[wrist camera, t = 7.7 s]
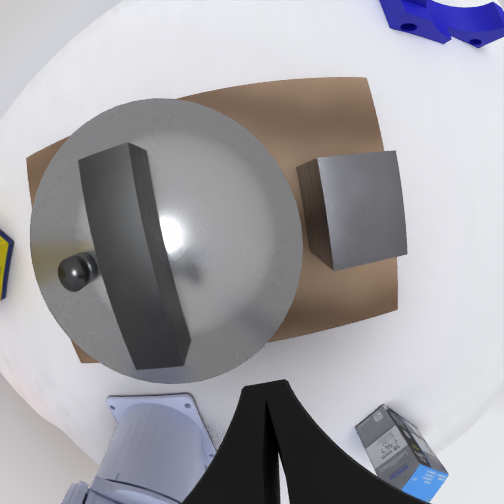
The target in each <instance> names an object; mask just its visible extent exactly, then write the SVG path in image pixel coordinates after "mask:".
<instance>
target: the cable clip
mask: <svg viewBox="0 0 504 504" xmlns="http://www.w3.org/2000/svg"><path fill="white" fill-rule="evenodd" d="M379 1H380V3H381V6H382V8H383V11H384V13H385V16H386V19H387V21H388V24H389V27H390V28H391V29H395V30H399V31H403V32H407V33H411V34H414V35H418V36H421V37H424V38H427V39H430V40H433V41H436V42H439V43H442V44H444V43H446V42H448V41H450V40H451V36H452V37H455V38H457V39H459V40H462V41H464V42H466V43H468V44H471V45H473V46H475V47H477V48H480V47H482V46H484V45H486V44H488V43H491V42H493V41H495V40H497V39H500V38H502V37H504V11H503V9H502V8H501V7H500V6H498V5H497V4H496V3H494V2H491V3H489V4H486V5H483V6H478V7H468V8H462V7H452V6H447V5H443V4H440V3H437V2H434V1H432V0H379Z"/></svg>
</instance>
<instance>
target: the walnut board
mask: <svg viewBox="0 0 504 504" xmlns="http://www.w3.org/2000/svg"><path fill="white" fill-rule="evenodd" d="M177 100H183V101H189V102H194V103H197V104H200V105H203V106H206V107H209V108H212V109H214V110H216V111H218V112H220V113H222V114H224V115H226V116H228V117H230V118H231V119H233V120H234V121H236V122H237V123H239V124H240V125H241V126H243V127H244V128H245V129H247V130H248V131H249V132H250V133H252V134H253V135H254V136H255V137H256V138H257V139H258V140H259V141H260V142H261V143H262V144H263V145H264V146H265V147H266V149H267V150H268V151H269V153H270V154H271V155H272V157H273V158H274V159H275V161H276V162H277V163H278V165H279V167H280V168H281V170H282V172H283V174H284V176H285V177H286V179H287V181H288V183H289V185H290V188H291V191H292V193H293V196H294V198H295V201H296V204H297V208H298V213H299V217H300V221H301V228H302V240H303V254H302V268H301V273H300V278H299V283H298V287H297V290H296V293H295V296H294V299H293V302H292V304H291V306H290V308H289V310H288V312H287V314H286V316H285V318H284V320H283V322H282V323H281V325H280V326H279V328H278V329H277V331H276V332H275V333H274V335H273V336H272V337H271V338H270V339H269V340H268V342H273V341H278V340H283V339H288V338H293V337H297V336H302V335H306V334H310V333H315V332H319V331H323V330H327V329H331V328H335V327H339V326H343V325H347V324H350V323H354V322H358V321H361V320H365V319H368V318H372V317H375V316H378V315H382V314H385V313H388V312H392V311H395V310H398V280H397V257H394V258H389V259H385V260H381V261H377V262H373V263H368V264H364V265H360V266H355V267H351V268H347V269H342V270H338V271H333V270H332V269H331V268H329V267H328V266H327V265H326V264H325V263H323V262H322V261H321V260H320V259H319V258H318V257H316V256H315V255H314V254H313V253H312V252H310V250H309V243H308V236H307V229H306V223H305V217H304V210H303V204H302V198H301V193H300V187H299V181H298V176H297V170H296V167H297V166H299V165H302V164H304V163H306V162H309V161H311V160H313V159H316V158H320V157H329V156H337V155H347V154H357V153H369V152H382V151H384V147H383V142H382V138H381V133H380V128H379V124H378V119H377V115H376V111H375V107H374V103H373V99H372V96H371V92H370V89H369V85H368V82H367V78H362V77H328V78H305V79H291V80H280V81H271V82H262V83H255V84H248V85H241V86H235V87H229V88H223V89H218V90H213V91H208V92H203V93H199V94H194V95H190V96H186V97H182V98H178V99H177ZM69 137H70V136H69ZM69 137H67V138H65V139H62V140H60V141H58V142H56V143H54V144H52V145H50V146H48V147H46V148H44V149H42V150H40V151H38V152H36V153H34V154H33V155H31V156H29V157H27V158H26V161H27V172H28V182H29V190H30V197H31V204H32V209H33V204H34V200H35V196H36V193H37V190H38V187H39V184H40V182H41V179H42V177H43V175H44V173H45V171H46V169H47V167H48V165H49V163H50V162H51V160H52V159H53V157H54V156H55V154H56V153H57V151H58V150H59V148H60V147H61V146H62V145H63V144H64V143H65V142H66V140H67V139H68V138H69ZM71 341H72V340H71ZM268 342H267V343H268ZM72 344H73V346H74V348H75V351H76V353H77V355H78V357H79V359H80V361H81V363H100V362H98V361H97V360H95V359H93V358H92V357H91V356H89V355H88V354H87V353H86V352H84V351H83V350H82V349H81V348H80V347H79V346H77V345H76V344H75V343H74V342H73V341H72Z"/></svg>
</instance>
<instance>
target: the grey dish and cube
mask: <svg viewBox="0 0 504 504" xmlns="http://www.w3.org/2000/svg"><path fill="white" fill-rule="evenodd" d="M296 170H297V176H298V181H299V187H300V193H301V198H302V204H303V210H304V217H305V223H306V229H307V236H308V243H309V250H310V252H312V253H313V254H314V255H315V256H316V257H318V258H319V259H320V260H321V261H322V262H323V263H325V264H326V265H327V266H328V267H329V268H331V269H332V270H333V271H338V270H342V269H347V268H351V267H355V266H360V265H364V264H368V263H373V262H377V261H381V260H385V259H389V258H394V257H398V256H402V255H406V254H407V238H406V224H405V213H404V204H403V195H402V187H401V180H400V173H399V167H398V161H397V156H396V151H382V152H369V153H357V154H347V155H337V156H329V157H320V158H316V159H313V160H311V161H309V162H306V163H304V164H302V165H299V166H297V167H296Z"/></svg>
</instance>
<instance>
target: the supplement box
mask: <svg viewBox="0 0 504 504" xmlns="http://www.w3.org/2000/svg"><path fill="white" fill-rule="evenodd" d="M13 243H14V242H13V241H12V240H11V239H10V238H9V237H8V236H6V235H5V234H4V233H3V232H2V231H0V300H2V299H4V298H5V297H6V289H7V280H8V273H9V266H10V260H11V254H12V248H13Z"/></svg>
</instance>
